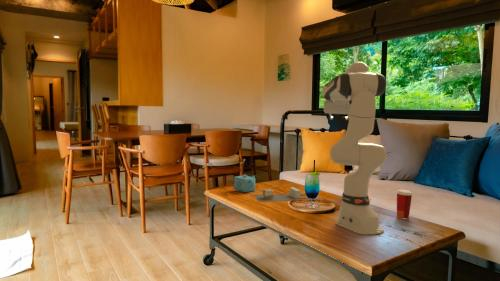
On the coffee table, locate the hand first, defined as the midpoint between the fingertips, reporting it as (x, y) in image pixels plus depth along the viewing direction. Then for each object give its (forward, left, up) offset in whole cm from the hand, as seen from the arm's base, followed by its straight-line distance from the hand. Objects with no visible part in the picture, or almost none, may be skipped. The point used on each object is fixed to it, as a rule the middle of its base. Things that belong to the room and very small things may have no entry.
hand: (338, 119), depth 212 cm
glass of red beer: (-49, -10, -49) cm, 70 cm away
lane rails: (-3, +36, -49) cm, 61 cm away
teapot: (+18, +55, -50) cm, 76 cm away
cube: (-3, +47, -48) cm, 68 cm away
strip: (-3, +41, -49) cm, 64 cm away
